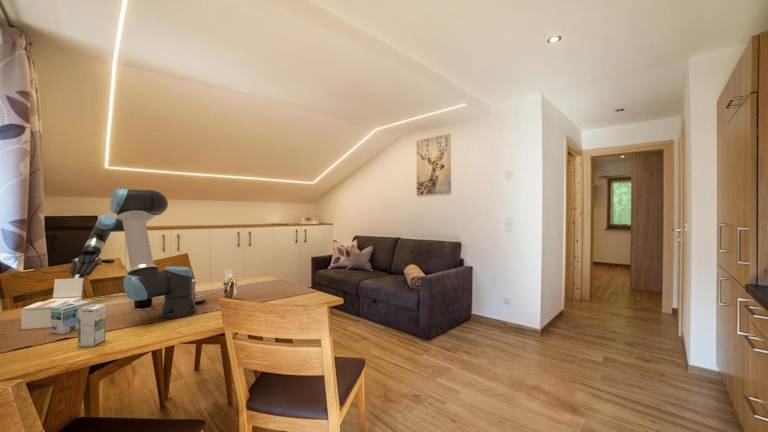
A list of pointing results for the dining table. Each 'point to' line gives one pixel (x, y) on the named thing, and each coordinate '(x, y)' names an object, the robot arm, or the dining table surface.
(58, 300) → the carton
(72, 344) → the dining table surface
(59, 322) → the light bulb box
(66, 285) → the flap
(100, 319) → the syrup box
